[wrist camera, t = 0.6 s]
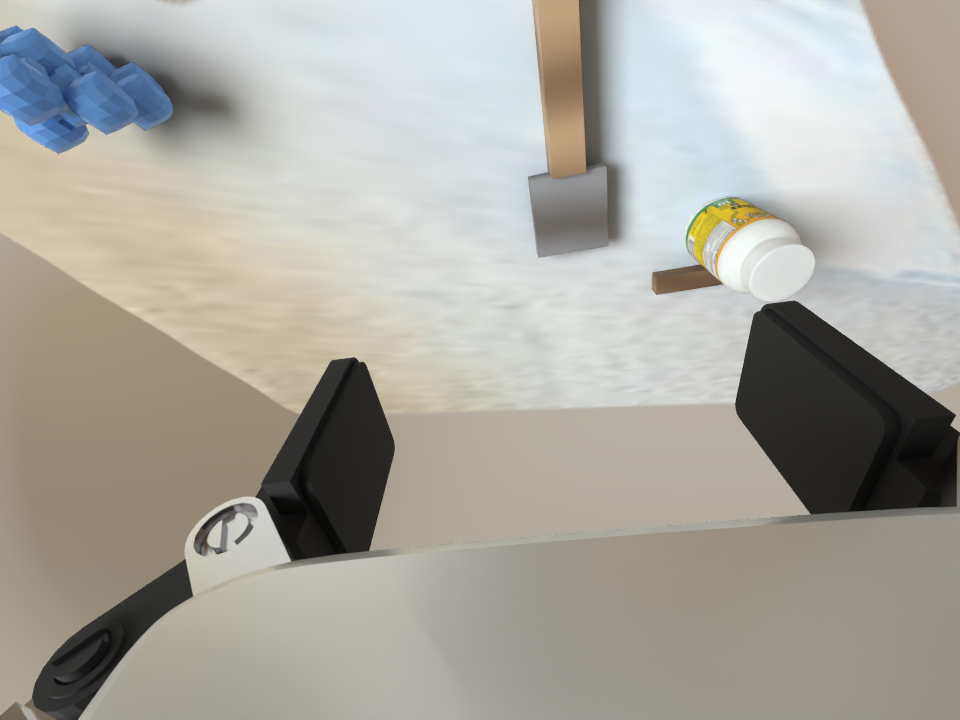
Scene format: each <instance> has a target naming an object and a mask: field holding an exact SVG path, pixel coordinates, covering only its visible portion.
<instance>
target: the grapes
mask: <svg viewBox="0 0 960 720" xmlns="http://www.w3.org/2000/svg"><path fill="white" fill-rule="evenodd" d="M0 110H1V111H2V112H4V113H6V114H8V115H10V116H12V117H13V118H14V120H15V123H16V125H17V127H18V128H19V129H20V130H21V131H22V132H23V133H25V134H26V135H27V136H28V137H30V138H31V139H32V140H34V141H35V142H37V143H39V144H41V145H43V146H45V147H46V148H48V149H50V150H52V151H54V152H56V153H58V154H59V153H62V152H65V151H67V150H70V149H72V148H73V147H75V146H77V145H79V144H81V143H82V142H84V141H85V140H86V138H87V136H88V135H89V132H88V130H87V127H86V124H88V123H89V124H90V125H92V126H93V127H95V128H97V129H98V130H100V131H101V132H103V133H105V134H106V135H107V134H110V133H113V132H115V131H118V130H120V129H122V128H123V127H125V126H127V125H129V124H131V123H132V122H133V123H135V124H136V125H138V126H139V127H141V128H142V129H144V130H148V129H150V128H153V127H156V126H157V125H159V124H161V123H163V122H165V121H166V120H168V119H170V118H171V116H172V114H173V112H174V110H173V106H172V103H171V101H170V98H169V97H168V96H167V95H166V94H165V93H164V90H163V88H162V86H161V85H160V84H159V83H158V82H157V81H156V80H155V79H154V78H152V77H151V76H150V75H149V74H148V73H147V72H146V71H144V70H143V69H142V68H141V67H139V66H138V65H137V64H136V63H134V62H133V63H130V64H127V65H124V66H122V67H120V68H118V69H117V68H116V67H115V66H114V65H113V64H112V63H111V62H110V61H108V60H107V59H106V58H105V57H104V56H102V55H101V54H100V53H98V52H97V51H96V50H95V49H93V48H92V47H91V46H89V45H87V46H84V47H81V48H78V49H76V50H73V51H71V52H69V53H66V52H65V51H63V50H62V49H61V48H60V47H59V46H57V45H56V44H55V43H54V42H52V41H51V40H50V39H48V38H47V37H45V36H44V35H43V34H41V33H40V32H39V31H37V30H36V29H34V28H31V29H28V30H25V31H23V30H22V29H21V28H19V27H18V26H14V27H11V28H8V29H5V30H2V31H0Z"/></svg>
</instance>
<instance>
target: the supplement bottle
mask: <svg viewBox="0 0 960 720" xmlns="http://www.w3.org/2000/svg"><path fill="white" fill-rule="evenodd" d="M684 243H685V247H686V249H687V251H688V252H689V254H690V255H691V256H692V257H693V258H694V259H695V260H697V261H698V262H699V263H700V264H701V265H702V266H704V267H705V268H706V269H707V270H708V271H709V272H710V273H711V274H712V275H714V276H715V277H716V278H717V279H718V280H719V281H720V282H721V283H723V284H724V285H725V286H726V287H728V288H729V289H731V290H733V291H736V292H739V293H748V294H749V293H751V294H752V295H753V296H755V297H756V298H758V299H760V300H763V301H769V302H770V301H779V300H782V299H785V298H788V297H790V296H792V295H793V294H795V293H797V292H798V291H799V290H800V289H802V288H803V287H804V286H805V285H806V284H807V282H808V281H809V280H810V278H811V276H812V274H813V272H814V269H815V265H816V260H815V256H814V254H813V252H812V251H811V250H810V249H809V248H808V247H807V246H805V245H803V244H802V243H801V239H800V236H799V234H798V232H797V231H796V230H795V228H794V227H793V226H791V225H790V224H788V223H787V222H786V221H784V220H781V219H779V218H777V217H775V216H773V215H771V214H769V213H767V212H765V211H763V210H761V209H759V208H757V207H755V206H753V205H751V204H749V203H747V202H745V201H743V200H740V199H738V198H734V197H722V198H718V199H715V200H712V201H709V202H707V203H705V204H704V205H703V206H701V207H700V208H699V209H697V210H696V211H695V213H694V214H693V215H692V216H691V218H690V219H689V221H688V223H687V225H686V228H685V232H684Z"/></svg>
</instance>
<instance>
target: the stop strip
mask: <svg viewBox="0 0 960 720" xmlns="http://www.w3.org/2000/svg"><path fill="white" fill-rule="evenodd" d="M721 284H723V283H721V282H720V281H719V280H718V279H717V278H716V277H715V276H714V275H712V274H711V273H710V272H709V271H708V270H707V269H706V268H705V267H704V266H702V265H696V266H690V267H684V268H678V269H672V270H665V271H659V272H653V276H652V290H653V291H654V292H655V294H656V295H658V294H665V293H671V292H677V291H684V290H690V289H696V288H702V287H709V286H715V285H721Z"/></svg>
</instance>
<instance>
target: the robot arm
mask: <svg viewBox="0 0 960 720" xmlns="http://www.w3.org/2000/svg"><path fill="white" fill-rule="evenodd" d="M735 406H736V412H737V415H738V416H739V418H740V419H741V421H742V422H743V424H744V425H745V426H746V428H747V429H748V430H749V431H750V433H751V434H752V435H753V437H754V438H755V440H756V441H757V442H758V444H759V445H760V446H761V448H762V449H763V450H764V452H765V453H766V455H767V456H768V457H769V459H770V460H771V461H772V463H773V464H774V465H775V467H776V468H777V469H778V471H779V472H780V473H781V475H782V476H783V477H784V479H785V480H786V482H787V483H788V484H789V486H790V487H791V488H792V489H793V491H794V492H795V494H796V495H797V496H798V497H799V499H800V500H801V502H802V503H803V504H804V506H805V507H806V508H807V510H808V511H809V513H810V514H811V515H798V516H786V517H772V518H759V519H746V520H733V521H719V522H705V523H693V524H679V525H667V526H654V527H642V528H629V529H617V530H604V531H592V532H580V533H567V534H555V535H543V536H531V537H520V538H508V539H496V540H484V541H474V542H461V543H449V544H438V545H427V546H415V547H405V548H394V549H386V550H375V551H369V549H370V545H371V541H372V537H373V533H374V530H375V526H376V522H377V518H378V514H379V510H380V506H381V502H382V499H383V495H384V491H385V487H386V483H387V479H388V475H389V471H390V468H391V463H392V460H393V456H394V450H395V446H394V440H393V437H392V434H391V431H390V428H389V426H388V423H387V420H386V418H385V415H384V412H383V409H382V407H381V404H380V401H379V398H378V396H377V393H376V390H375V388H374V385H373V382H372V379H371V377H370V374H369V371H368V369H367V366H366V364H365V363H364V362H359V361H358V360H357V359H356V358H346V359H338V360H332V361H331V362H330V364H329V366H328V367H327V369H326V371H325V373H324V374H323V376H322V378H321V380H320V381H319V383H318V385H317V387H316V388H315V390H314V392H313V394H312V395H311V397H310V399H309V401H308V402H307V404H306V406H305V408H304V409H303V411H302V413H301V415H300V417H299V418H298V420H297V422H296V424H295V425H294V427H293V429H292V431H291V432H290V434H289V436H288V438H287V439H286V441H285V443H284V445H283V446H282V448H281V450H280V452H279V453H278V455H277V457H276V459H275V460H274V462H273V464H272V466H271V467H270V470H269V471H268V473H267V475H266V476H265V478H264V480H263V482H262V483H261V485H262V487H261V489H260V490H259V492H258V494H257V496H256V497H255V498H254V497H241V498H237V499H233V500H230V501H228V502H226V503H224V504H222V505H220V506H218V507H217V508H215V509H214V510H212V511H211V512H209V513H208V514H207V515H206V516H205V517H204V518H202V519H201V520H200V521H199V522H198V523H197V524H196V526H195V527H194V528H193V530H192V531H191V532H190V534H189V536H188V538H187V541H186V543H185V558H186V559H185V560H183V561H182V562H181V563H179V564H178V565H176V566H175V567H173V568H172V569H170V570H169V571H167V572H166V573H164V574H163V575H161V576H160V577H158V578H157V579H155V580H154V581H152V582H151V583H149V584H148V585H146V586H145V587H143V588H142V589H140V590H139V591H137V592H136V593H134V594H133V595H131V596H130V597H128V598H127V599H125V600H124V601H122V602H121V603H119V604H118V605H116V606H115V607H113V608H112V609H110V610H109V611H107V612H106V613H104V614H103V615H101V616H100V617H98V618H97V619H95V620H94V621H92V622H91V623H89V624H88V625H86V626H85V627H83V628H82V629H81V630H80V631H79V632H77V633H76V634H75V635H73V636H72V637H71V638H69V639H68V640H67V641H66V642H65V643H64V644H63V645H62V646H61V647H60V648H59V649H58V650H57V651H56V652H55V653H54V655H53V656H52V657H51V659H50V660H49V661H48V662H47V664H46V665H45V666H44V668H43V669H42V671H41V673H40V675H39V677H38V679H37V681H36V683H35V686H34V690H33V695H32V699H31V700H30V701H28V702H27V703H26V704H25V705H24V706H23V705H21V704H19V703H17V702H15V703H14V704H13V705H12V706H11V707H9V708H8V709H7V710H6V711H5V712H4V713H3V714H2V715H0V720H960V432H958V431H957V430H956V429H954V428H953V427H952V426H950V425H951V423H952V421H953V420H954V418H955V416H956V415H955V414H954V413H952V412H951V411H950V410H948V409H947V408H945V407H944V406H943V405H941V404H940V403H938V402H937V401H936V400H934V399H933V398H931V397H930V396H929V395H927V394H926V393H924V392H923V391H922V390H920V389H919V388H917V387H916V386H915V385H913V384H912V383H910V382H909V381H908V380H906V379H905V378H903V377H902V376H901V375H899V374H898V373H896V372H895V371H894V370H892V369H891V368H889V367H888V366H887V365H885V364H884V363H883V362H881V361H880V360H878V359H877V358H876V357H874V356H873V355H871V354H870V353H869V352H867V351H866V350H864V349H863V348H862V347H860V346H859V345H857V344H856V343H855V342H853V341H852V340H850V339H849V338H848V337H846V336H845V335H843V334H842V333H841V332H839V331H838V330H836V329H835V328H834V327H832V326H831V325H829V324H828V323H827V322H825V321H824V320H822V319H821V318H820V317H818V316H817V315H815V314H814V313H813V312H811V311H810V310H808V309H807V308H806V307H804V306H803V305H801V304H800V303H799V302H796V301H787V302H779V303H771V304H766V305H764V306H763V307H762V309H761V311H758V312H756V313H755V314H754V317H753V320H752V325H751V330H750V335H749V339H748V344H747V349H746V354H745V359H744V364H743V368H742V373H741V378H740V383H739V388H738V392H737V397H736V403H735Z"/></svg>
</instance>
